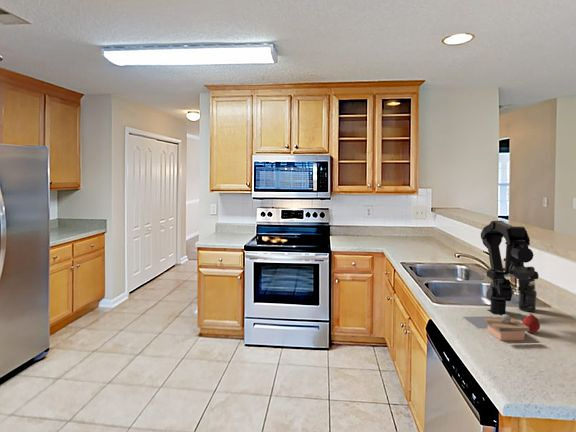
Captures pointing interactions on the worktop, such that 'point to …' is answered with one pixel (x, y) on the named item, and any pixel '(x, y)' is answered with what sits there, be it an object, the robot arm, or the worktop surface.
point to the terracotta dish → (506, 334)
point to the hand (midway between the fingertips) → (510, 294)
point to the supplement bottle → (528, 299)
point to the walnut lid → (506, 323)
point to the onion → (531, 323)
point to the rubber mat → (478, 321)
